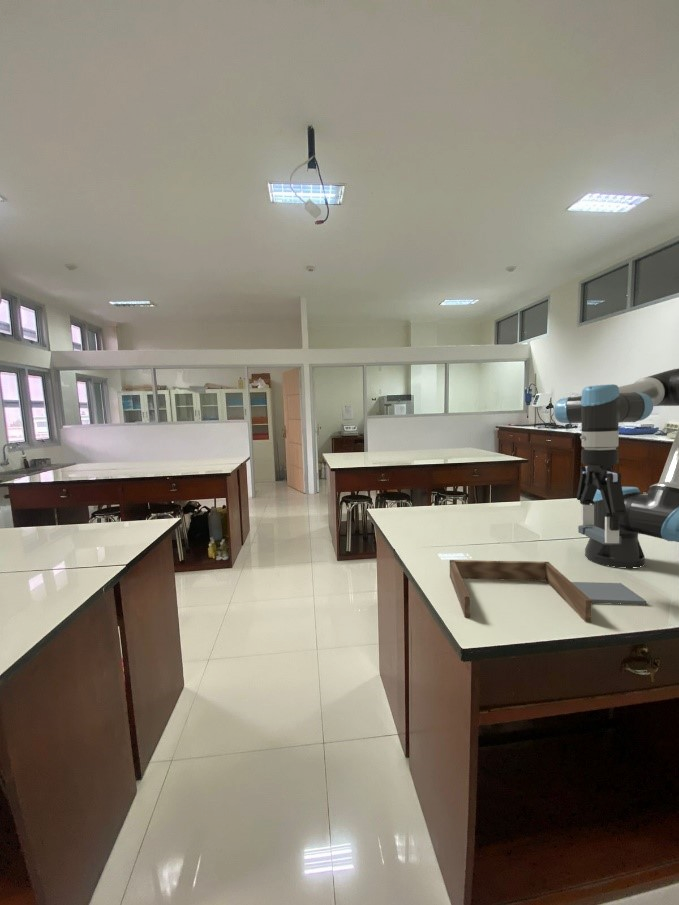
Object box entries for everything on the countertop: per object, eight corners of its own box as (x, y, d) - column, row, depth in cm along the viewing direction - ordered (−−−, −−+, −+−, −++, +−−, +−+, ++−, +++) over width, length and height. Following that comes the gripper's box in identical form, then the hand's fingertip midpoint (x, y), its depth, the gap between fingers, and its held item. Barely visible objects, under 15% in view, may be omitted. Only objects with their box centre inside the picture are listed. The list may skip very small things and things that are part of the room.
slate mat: (620, 586, 98) (621, 583, 98) (646, 605, 88) (646, 601, 88) (564, 585, 100) (564, 581, 100) (582, 603, 90) (582, 599, 90)
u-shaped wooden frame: (548, 578, 105) (548, 561, 104) (591, 622, 82) (591, 600, 81) (449, 576, 108) (449, 560, 108) (464, 617, 86) (464, 596, 85)
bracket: (605, 545, 88) (605, 537, 88) (577, 532, 98) (577, 525, 98) (622, 544, 88) (622, 536, 88) (592, 531, 98) (592, 524, 98)
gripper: (562, 445, 103) (562, 522, 105) (609, 453, 81) (608, 551, 82) (591, 444, 102) (591, 522, 104) (647, 451, 79) (646, 551, 81)
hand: (599, 535), depth 93 cm, fingers closed on bracket, 11 cm apart
